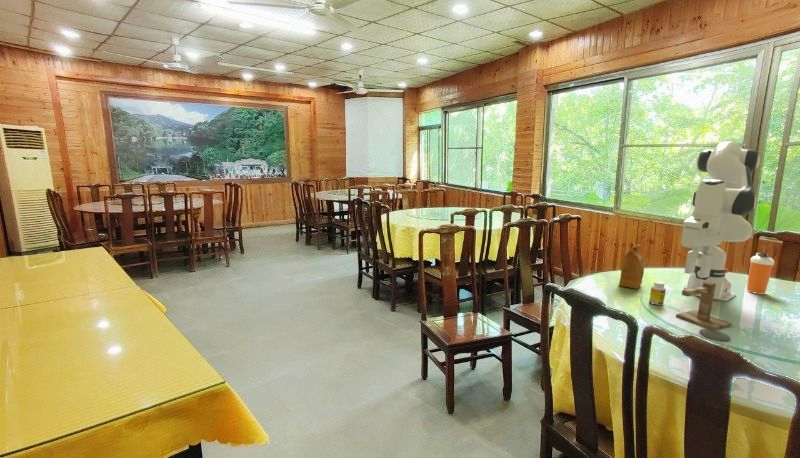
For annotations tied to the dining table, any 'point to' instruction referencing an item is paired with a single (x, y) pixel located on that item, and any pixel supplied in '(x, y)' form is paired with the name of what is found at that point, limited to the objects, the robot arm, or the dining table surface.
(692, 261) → the c link
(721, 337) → the felt pad
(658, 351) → the dining table surface
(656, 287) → the supplement bottle
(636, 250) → the coffee package
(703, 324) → the hook stand
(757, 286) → the shaker bottle
